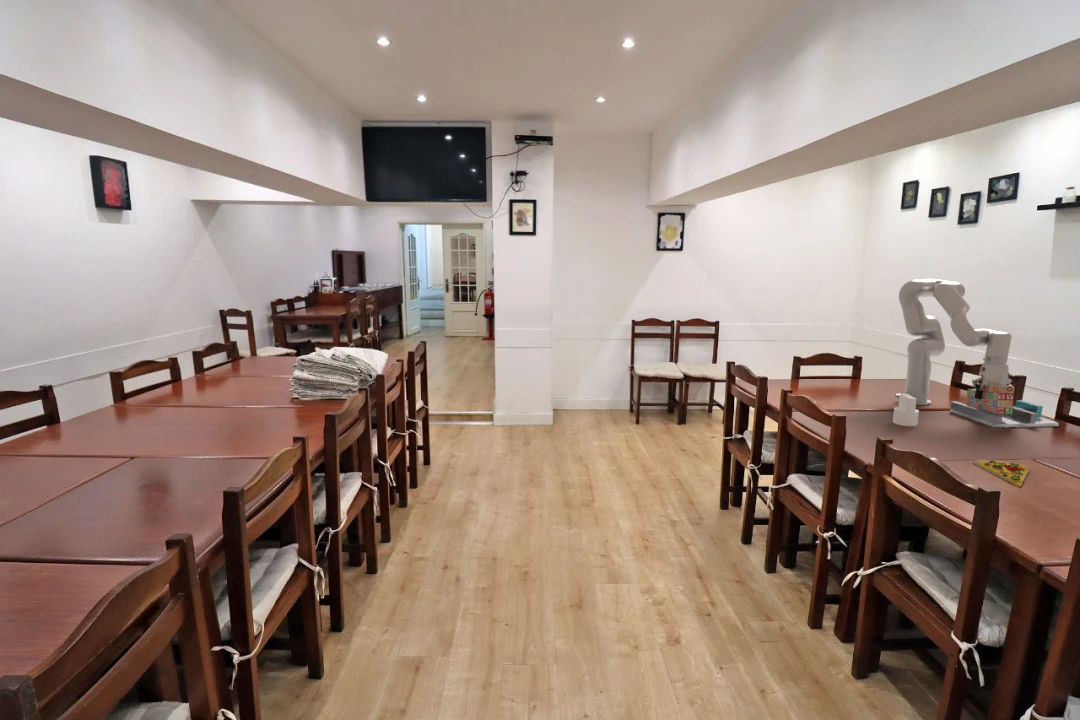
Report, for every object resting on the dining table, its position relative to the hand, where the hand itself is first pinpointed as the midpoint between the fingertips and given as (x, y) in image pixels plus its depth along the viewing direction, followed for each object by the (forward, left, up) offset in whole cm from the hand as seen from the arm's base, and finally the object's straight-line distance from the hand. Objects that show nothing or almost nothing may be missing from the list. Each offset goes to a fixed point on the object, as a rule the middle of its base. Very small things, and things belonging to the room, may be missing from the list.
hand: (988, 398), depth 242 cm
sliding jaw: (+14, -1, -7) cm, 16 cm away
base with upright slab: (-39, -3, -10) cm, 40 cm away
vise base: (+7, -1, -9) cm, 12 cm away
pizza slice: (-46, -60, -10) cm, 76 cm away
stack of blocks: (0, -1, -6) cm, 6 cm away
